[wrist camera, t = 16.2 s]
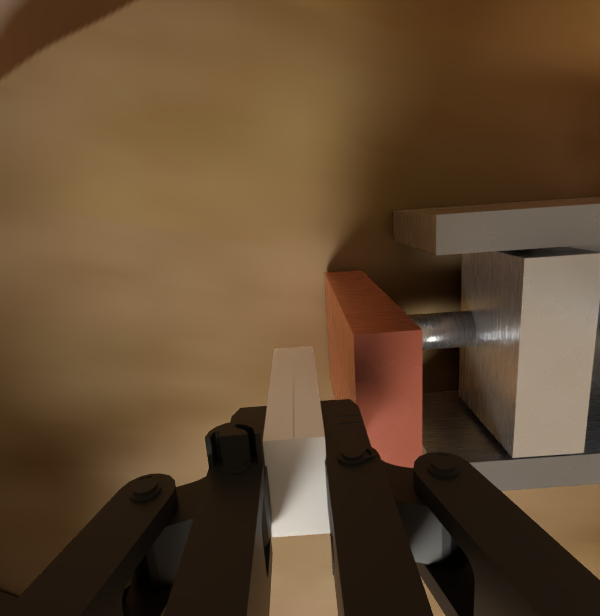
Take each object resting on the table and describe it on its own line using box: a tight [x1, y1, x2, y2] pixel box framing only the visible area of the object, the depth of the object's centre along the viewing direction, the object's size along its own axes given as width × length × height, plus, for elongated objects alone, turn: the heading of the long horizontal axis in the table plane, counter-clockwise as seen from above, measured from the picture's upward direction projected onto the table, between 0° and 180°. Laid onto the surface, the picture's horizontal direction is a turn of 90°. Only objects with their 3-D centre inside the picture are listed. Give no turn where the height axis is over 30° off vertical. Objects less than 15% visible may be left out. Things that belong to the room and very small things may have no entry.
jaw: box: [324, 246, 600, 468], centre depth 19 cm, size 10×8×11 cm
